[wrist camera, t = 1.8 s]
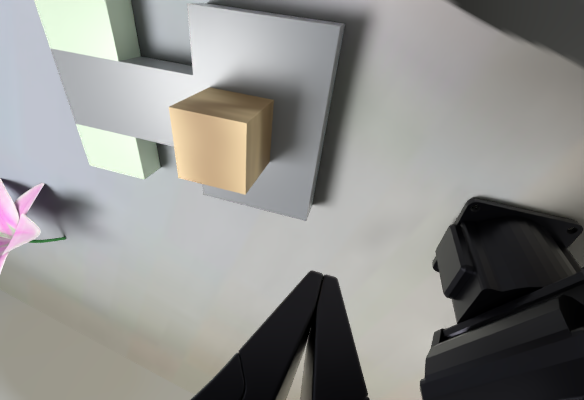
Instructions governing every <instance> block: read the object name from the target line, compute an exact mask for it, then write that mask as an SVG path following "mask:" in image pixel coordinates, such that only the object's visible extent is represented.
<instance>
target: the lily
mask: <svg viewBox="0 0 584 400" xmlns="http://www.w3.org/2000/svg"><path fill="white" fill-rule="evenodd" d="M43 186H44V183H41V184H39V185H36V186H35V187H33V188H31V189H30V190H28V191H27V192H25V193H24V194H23V195H21V196H20V197H19V198H18V199H17V200H16V201H15V203H14V202H13V200H12V199H11V197H10V195H9V194H8V192H7V190H6V188H5V186H4V184H3V182H2V180H1V179H0V273H1V270H2V267H3V265H4V262H5V259H6V257H7V255H8V253H9V251H10V250H12V249H14V248H16V247H19V246H21V245H23V244H25V243H43V242H51V241H58V240H65V239H66V238H65V237H62V238H55V239H47V240H33V239H35V238H37V237H38V236H39V235H40V234H41V230H40V229H39V227H38V226H37V225H36V224H35V223H34V222H33V221H31V220H30V219H29V218H28V217H27V216H26V214H27V212H28V211H29V209H30V207H31V205H32V204H33V202H34V200H35V199H36V197H37V195H38V194H39V192H40V190H41V189H42V187H43Z"/></svg>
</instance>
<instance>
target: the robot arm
mask: <svg viewBox="0 0 584 400" xmlns="http://www.w3.org/2000/svg"><path fill="white" fill-rule="evenodd" d="M474 205H478V207H477V208H471V207H472V206H474ZM572 227H574V228H572ZM569 228H572V229H570V230H568V229H569ZM582 231H583V228H582V226H581V225H580V224H579V223H578V222H577V221H575V220H570V219H566V218H562V217H557V216H553V215H548V214H544V213H539V212H535V211H530V210H526V209H521V208H517V207H512V206H508V205H503V204H499V203H495V202H490V201H486V200H481V199H470V200H469V201H467V202H466V204H465V205H464V207H463V209H462V211H461V213H460V214H459V216H458V218H457V220H456V221H455V223H454V224H452V225H450V226H449V227H448V229H447V231H446V233H445V234H444V236H443V238H442V240H441V242H440V243H439V245H438V247H437V249H436V257H435V259H434V260H433V263H432V264H433V269H434V270H435V271H437V272H439V273H440V278H441V283H442V289H443V293H444V295H445V296H446V297H447V298H451V299H452V302H453V307H454V312H455V316H456V321H457V325H454V326H452V327H450V328H447V329H440V330H438V331H435V332H434V336H433V341H432V345H431V349H430V351H429V353H428V355H427V357H426V364H425V378H424V379H421V381H420V391H421V396H422V400H584V267H583V268H581V267H580V266H579V264H578V263H577V261H576V260H575V259H574V257H573V256H572V254H571V253H570V252H569V250H568V249H567V248H568V247H569V246H570V245H571V244H572V243H573V241H574V240H575V239H576V238H577V237H578V236H579V235H580V234H581V233H582ZM309 332H310V333H309ZM308 336H309V337H308ZM307 340H308V342H307ZM306 343H307V347H306V354H305V363H304V371H303V380H302V388H301V397H300V400H370V399H369V397H367V395H368V392H367V389H366V385H365V381H364V377H363V373H362V370H361V366H360V362H359V358H358V355H357V351H356V347H355V343H354V339H353V336H352V332H351V328H350V324H349V320H348V317H347V313H346V309H345V305H344V301H343V298H342V294H341V290H340V286H339V283H338V279H337V278H336V277H333V276H330V275H324V276H323V274H322V273H319V272H316V271H310V272H309V273H308V274H307V275H306V276H305V277H304V278H303V279H302V280H301V282H300V283H299V284H298V285H297V286H296V287H295V288H294V289H293V290H292V292H291V293H290V294H289V295H288V296H287V297H286V298H285V299H284V301H283V302H282V303H281V304H280V305H279V306H278V307H277V308H276V310H275V311H274V312H273V313H272V314H271V315H270V316H269V317H268V318H267V320H266V321H265V322H264V323H263V324H262V325H261V326H260V327H259V329H258V330H257V331H256V332H255V333H254V334H253V335H252V336H251V338H250V339H249V340H248V341H247V342H246V343H245V344H244V345H243V347H242V348H241V349H240V350H239V353H236V354H235V355H234V356H233V357H232V359H231V360H230V361H229V362H228V363H227V364H226V365H225V366H224V367H223V368H222V369H221V371H220V372H219V373H218V374H217V375H216V376H215V377H214V378H213V379H212V380H211V381H210V382H209V383H208V384H207V385H206V386H205V387H204V388H202V389H201V390H200V391H199V392H198V393H197V394H196V395H195V396H194V397H193V398H192V399H191V400H286V398H287V395H288V393H289V390H290V387H291V385H292V382H293V379H294V376H295V374H296V371H297V368H298V366H299V363H300V360H301V358H302V355H303V352H304V349H305V346H306Z"/></svg>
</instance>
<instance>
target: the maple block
mask: <svg viewBox="0 0 584 400" xmlns="http://www.w3.org/2000/svg"><path fill="white" fill-rule="evenodd" d="M273 106H274V100H272V99H267V98H262V97H257V96H252V95H246V94H241V93H236V92H231V91H226V90H221V89H215V88H210V87H209V88H207V89H205V90H203V91H201V92H198V93H196V94H194V95H192V96H190V97H188V98H186V99H184V100H182V101H180V102H178V103H176V104H174V105H171V106H169V114H170V121H171V128H172V135H173V142H174V149H175V156H176V164H177V171H178V178H181V179H185V180H189V181H193V182H197V183H201V184H205V185H209V186H213V187H217V188H221V189H225V190H229V191H233V192H237V193H241V194H245V195H246V193H247V192H248V191H249V189H250V188H251V187H252V185H253V184H254V183H255V181H256V180H257V178H258V177H259V176H260V174H261V173H262V172H263V170H264V169H265V168H266V166H267V165H268V164H269V162H270V149H271V135H272V120H273Z"/></svg>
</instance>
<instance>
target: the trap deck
mask: <svg viewBox="0 0 584 400" xmlns="http://www.w3.org/2000/svg"><path fill="white" fill-rule="evenodd" d="M34 1H35V4H36V7H37V10H38V13H39V16H40V19H41V22H42V25H43V28H44V31H45V34H46V37H47V40H48V43H49V46H50V49H51V52H52V55H53V58H54V61H55V64H56V67H57V70H58V72H59V75H60V78H61V81H62V84H63V87H64V90H65V93H66V96H67V99H68V102H69V105H70V108H71V111H72V114H73V117H74V120H75V123H76V126H77V129H78V132H79V135H80V138H81V141H82V144H83V147H84V150H85V153H86V155H87V158H88V161H89V164H90V166H94V167H98V168H102V169H106V170H110V171H114V172H117V173H121V174H125V175H129V176H133V177H137V178H141V179H146V178H147V177H149V176H150V175H151V174H153V173H154V172H156V171H157V170H158V169H160V168H161V167H160V162H159V156H158V150H157V145H156V143H161V144H165V145H169V146H173V147H174V142H173V135H172V128H171V121H170V114H169V106H171V105H174V104H176V103H178V102H180V101H182V100H184V99H186V98H188V97H190V96H192V95H194V94H196V93H198V92H201V91H203V90H205V89H207V88H209V87H210V88H215V89H221V90H226V91H231V92H236V93H241V94H246V95H252V96H257V97H262V98H267V99H272V100H274V106H273V120H272V135H271V149H270V162H269V164H268V165H267V166H266V168H265V169H264V170H263V172H262V173H261V174H260V176H259V177H258V178H257V180H256V181H255V183H254V184H253V185H252V187H251V188H250V189H249V191H248V192H247V193H246V195H245V194H241V193H237V192H233V191H229V190H225V189H221V188H217V187H213V186H209V185H205V184H202V185H203V195H207V196H211V197H215V198H219V199H223V200H227V201H230V202H234V203H238V204H242V205H246V206H250V207H254V208H258V209H262V210H265V211H269V212H273V213H277V214H281V215H285V216H289V217H293V218H297V219H300V220H304V221H306V220H307V217H308V215H309V212H310V209H311V207H312V203H313V197H314V192H315V186H316V181H317V175H318V170H319V164H320V159H321V153H322V148H323V143H324V137H325V132H326V126H327V121H328V115H329V110H330V104H331V99H332V93H333V88H334V82H335V77H336V72H337V66H338V61H339V55H340V50H341V44H342V39H343V33H344V28H345V24H344V23H337V22H330V21H323V20H316V19H310V18H303V17H296V16H289V15H282V14H275V13H269V12H262V11H255V10H248V9H241V8H234V7H228V6H221V5H214V4H207V3H196V4H187V10H188V22H189V34H190V45H191V57H192V66H190V65H185V64H180V63H174V62H169V61H163V60H158V59H152V58H147V57H141V55H140V49H139V44H138V38H137V32H136V27H135V21H134V15H133V10H132V4H131V0H34Z"/></svg>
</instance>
